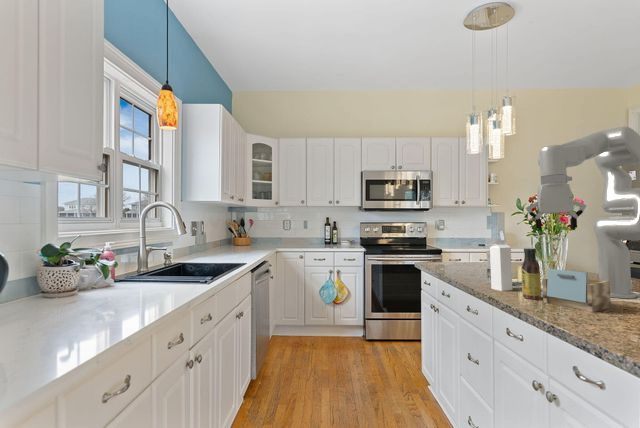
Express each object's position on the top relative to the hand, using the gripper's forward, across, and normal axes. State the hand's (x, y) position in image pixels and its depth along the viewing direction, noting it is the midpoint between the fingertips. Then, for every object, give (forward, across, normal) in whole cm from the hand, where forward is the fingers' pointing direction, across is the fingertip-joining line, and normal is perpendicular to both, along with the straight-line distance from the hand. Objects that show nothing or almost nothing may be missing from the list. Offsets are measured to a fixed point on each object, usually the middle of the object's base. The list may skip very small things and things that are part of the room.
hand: (556, 230), depth 118 cm
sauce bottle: (+28, +7, -14) cm, 32 cm away
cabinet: (+27, -6, -8) cm, 29 cm away
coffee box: (+28, +17, -43) cm, 54 cm away
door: (+19, -2, -3) cm, 20 cm away
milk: (+28, +17, -29) cm, 43 cm away
